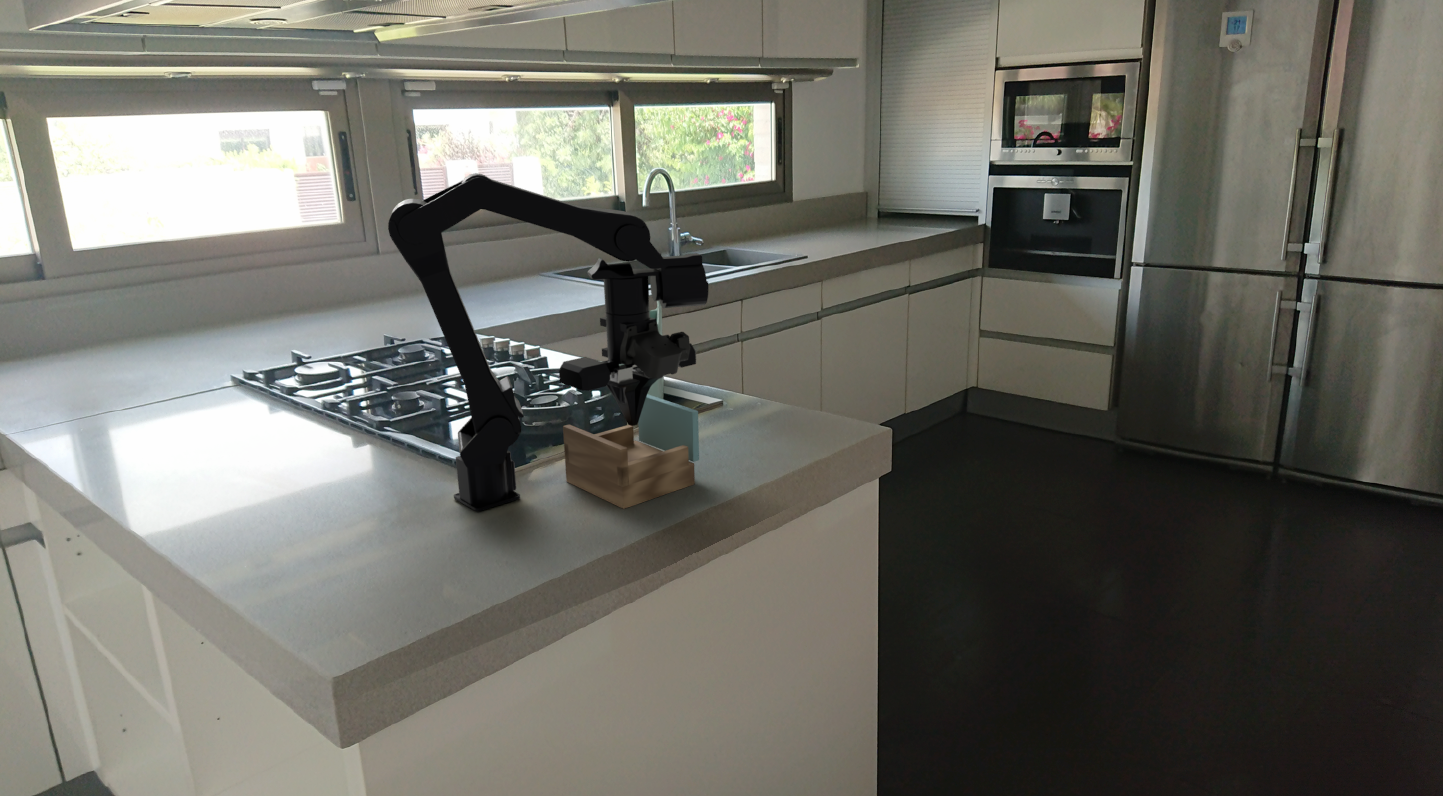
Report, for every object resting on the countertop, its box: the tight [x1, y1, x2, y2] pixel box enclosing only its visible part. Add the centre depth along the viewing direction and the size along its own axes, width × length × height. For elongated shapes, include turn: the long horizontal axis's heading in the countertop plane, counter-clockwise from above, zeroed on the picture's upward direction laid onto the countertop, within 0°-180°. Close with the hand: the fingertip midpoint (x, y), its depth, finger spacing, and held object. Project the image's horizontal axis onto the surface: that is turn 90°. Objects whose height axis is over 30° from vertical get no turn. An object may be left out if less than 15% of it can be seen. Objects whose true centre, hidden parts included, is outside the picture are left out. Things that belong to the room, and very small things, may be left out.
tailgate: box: [637, 394, 700, 463], centre depth 132 cm, size 2×12×7 cm, turn 42°
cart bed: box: [562, 424, 696, 510], centre depth 128 cm, size 12×13×8 cm
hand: (632, 425), depth 128 cm, fingers closed
